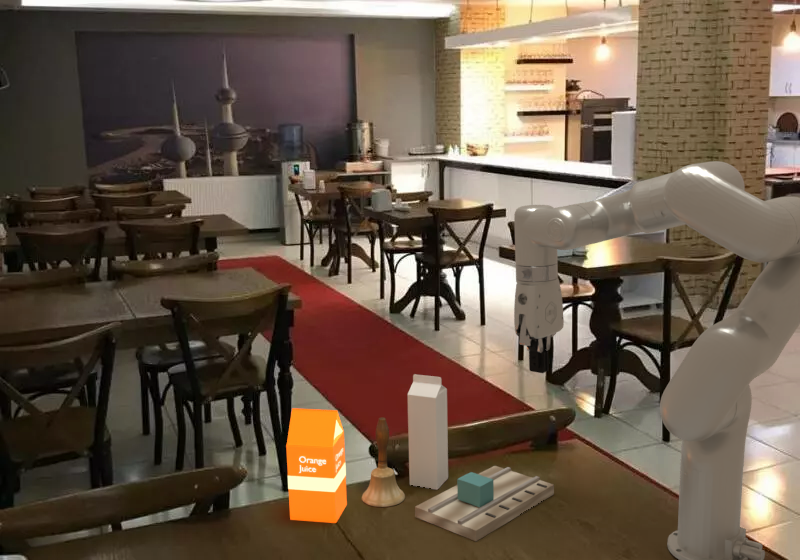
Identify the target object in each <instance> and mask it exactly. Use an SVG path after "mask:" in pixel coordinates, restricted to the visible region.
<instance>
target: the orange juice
mask: <svg viewBox="0 0 800 560" xmlns="http://www.w3.org/2000/svg"><path fill="white" fill-rule="evenodd" d="M288 427H289V428H288V432H287V434H288V435H287V440H286V441H287V442H286V445H285V448H286V463H287V464H286V465H287V489H288V500H289V502H288V503H289V505H288V506H289V518H290V519H289V520H290V521H304V522H315V523H331V524H336V523H337V522H338V521H339V519H340V517H341V516H342V514H343V512H344V510H345V508H346V507H347V505H348V501H347V466H346V464H347V463H346V452H345V451H346V449H345V445H346V444H345V431H344V428H343V424H342V421H341V418H340V414H339V412H338V410H336V409H335V410H334V409H316V408H315V409H314V408H298V407H297V408H296V407H294V408H291V412H290V420H289V426H288Z"/></svg>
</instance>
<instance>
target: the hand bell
mask: <svg viewBox="0 0 800 560" xmlns="http://www.w3.org/2000/svg"><path fill="white" fill-rule="evenodd" d="M375 441H376V446H377V449H378V450H377V451H378V457H377V459H378V460H377V462H378V463H377V467H376V468H374V469H372V470H371V472H370V479H369V484H368V487H367V488H366V490H364V492H363V493H362V496H361V501H362V502H363V503H364V504H366V505H367V506H368V505H369V506H371V507H376V508H377V507H378V508H388V507H393V506H394V507H395V506H396V505H398V504H399V505H400V504H401V503H402V502H403V501H404V500H405V498H406V494H405V493H404V491H403V490H402V489H400V487H399V486H398V484H397V480H396V479H397V478H396V475H395V471H394V469H393V468H390V467H388V451H387V450H388V445H389V442H390V429H389V426H388V423H387V419H386V418H385V417H378V421H377V425H376V429H375Z"/></svg>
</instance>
